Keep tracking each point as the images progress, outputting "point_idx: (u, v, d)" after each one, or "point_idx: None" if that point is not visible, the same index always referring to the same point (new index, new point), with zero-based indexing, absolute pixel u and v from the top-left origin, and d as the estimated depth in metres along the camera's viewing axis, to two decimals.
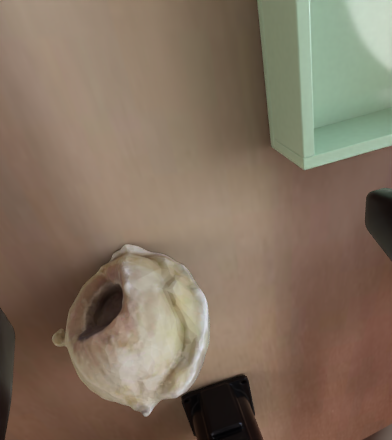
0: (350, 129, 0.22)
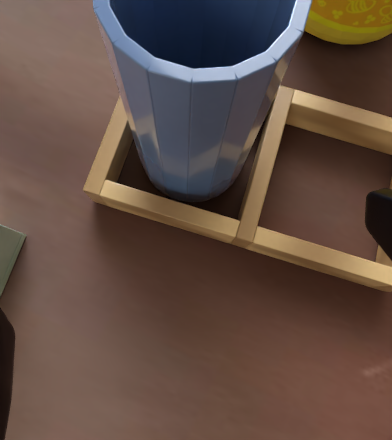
0: None
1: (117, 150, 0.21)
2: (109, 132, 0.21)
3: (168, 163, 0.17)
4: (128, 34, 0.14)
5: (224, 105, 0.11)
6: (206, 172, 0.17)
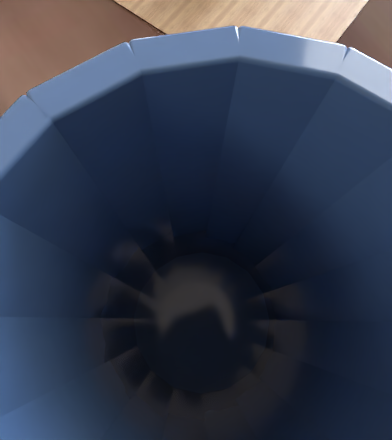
0: None
1: None
2: None
3: None
4: (62, 292, 0.06)
5: None
6: None
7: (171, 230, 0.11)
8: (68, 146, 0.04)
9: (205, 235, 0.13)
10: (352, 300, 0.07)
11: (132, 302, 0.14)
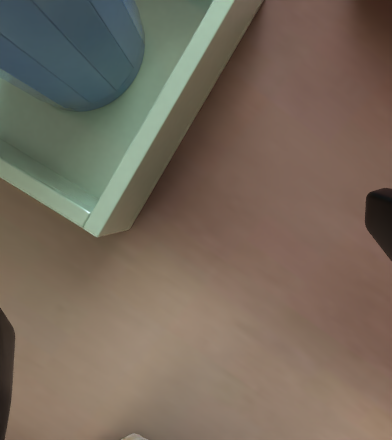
0: None
1: None
2: None
3: (3, 61, 0.12)
4: None
5: None
6: (64, 52, 0.12)
7: None
8: None
9: None
10: None
11: None
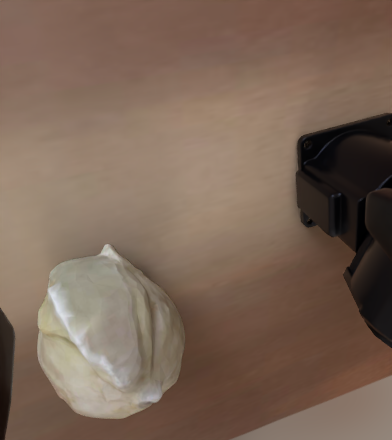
0: None
1: None
2: None
3: None
4: None
5: None
6: None
7: None
8: None
9: None
10: None
11: None
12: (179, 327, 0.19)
